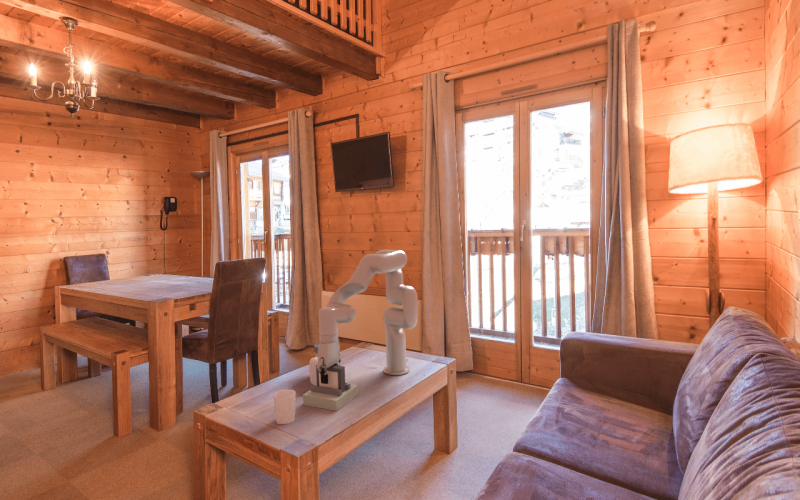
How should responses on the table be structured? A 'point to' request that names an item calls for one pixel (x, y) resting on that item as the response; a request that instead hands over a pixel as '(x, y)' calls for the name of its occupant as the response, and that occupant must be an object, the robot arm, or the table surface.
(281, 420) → the white cup
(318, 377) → the thin grey panel
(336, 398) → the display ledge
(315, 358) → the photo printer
